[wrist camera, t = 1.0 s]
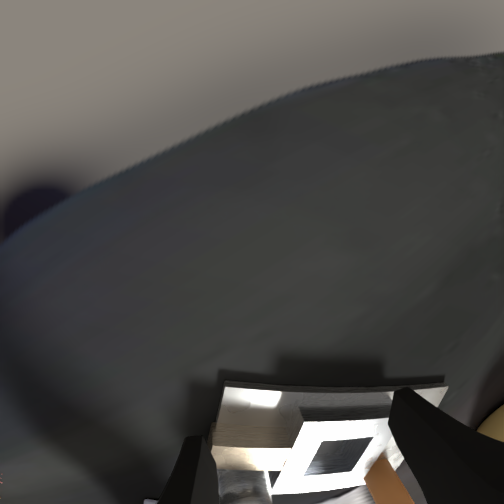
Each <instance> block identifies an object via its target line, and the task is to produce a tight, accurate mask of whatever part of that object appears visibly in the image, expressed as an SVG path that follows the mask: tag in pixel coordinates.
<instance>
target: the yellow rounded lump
mask: <svg viewBox="0 0 504 504" xmlns="http://www.w3.org/2000/svg"><path fill="white" fill-rule="evenodd" d="M477 432H479V433H482V434H484V435H486V436H488V437H491V438H493V439H496V440H499V441H502V442H504V405H502V406H501V407H499V408H498V409H497V410H496V411H494V412H493V413H492V414H491V415H490V416H489V417H488V418H487V419H486V420H485V421H484V422H483V423H482V424H481V425H480V426H479V428H478V429H477Z"/></svg>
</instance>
